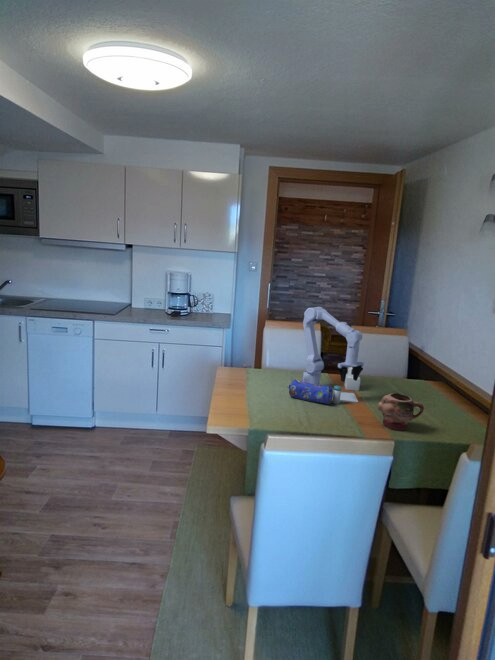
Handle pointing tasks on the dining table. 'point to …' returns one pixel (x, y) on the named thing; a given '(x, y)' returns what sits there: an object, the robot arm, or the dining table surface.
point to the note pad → (348, 397)
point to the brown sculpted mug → (398, 410)
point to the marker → (337, 394)
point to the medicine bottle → (351, 381)
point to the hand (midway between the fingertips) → (348, 380)
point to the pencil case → (310, 392)
